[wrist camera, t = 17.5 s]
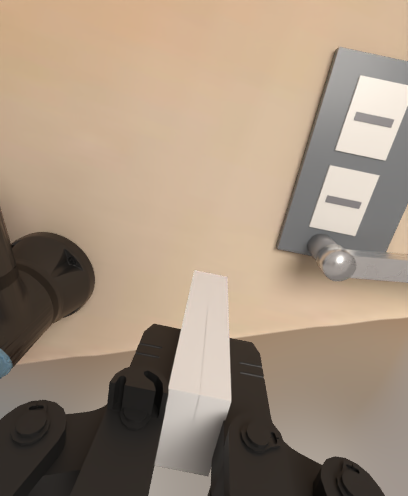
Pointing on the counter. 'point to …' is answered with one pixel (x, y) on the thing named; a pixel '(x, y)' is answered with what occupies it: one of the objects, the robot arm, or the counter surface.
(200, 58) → the counter surface
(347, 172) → the label board
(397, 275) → the swing arm
